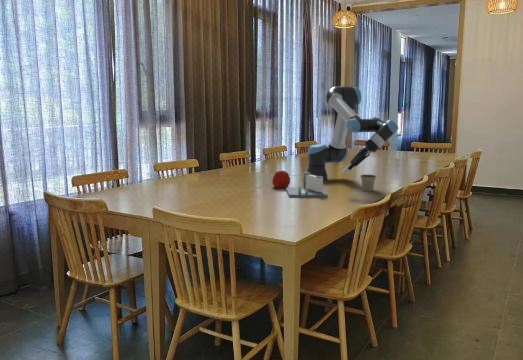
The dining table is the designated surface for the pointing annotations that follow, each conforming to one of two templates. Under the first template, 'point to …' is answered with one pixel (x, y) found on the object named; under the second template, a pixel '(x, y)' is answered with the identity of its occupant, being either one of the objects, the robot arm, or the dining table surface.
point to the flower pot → (368, 182)
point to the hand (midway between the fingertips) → (343, 173)
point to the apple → (281, 179)
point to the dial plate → (304, 192)
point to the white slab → (313, 182)
